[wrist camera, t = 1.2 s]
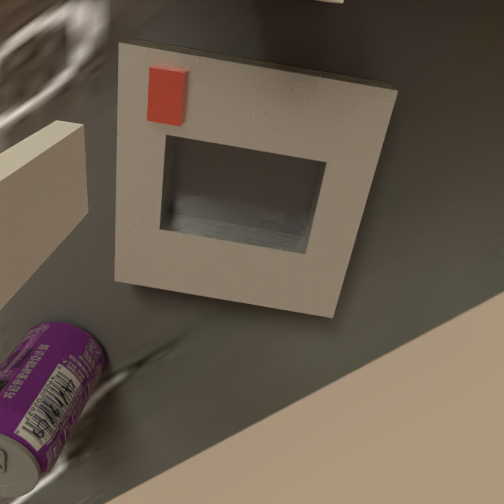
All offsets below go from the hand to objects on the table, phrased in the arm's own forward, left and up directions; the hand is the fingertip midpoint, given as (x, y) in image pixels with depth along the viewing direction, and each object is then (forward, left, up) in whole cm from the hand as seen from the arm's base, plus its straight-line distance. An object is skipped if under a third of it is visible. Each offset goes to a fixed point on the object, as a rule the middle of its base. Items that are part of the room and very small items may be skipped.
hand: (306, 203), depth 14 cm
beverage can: (+25, -16, -19) cm, 35 cm away
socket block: (+7, -3, -19) cm, 20 cm away
